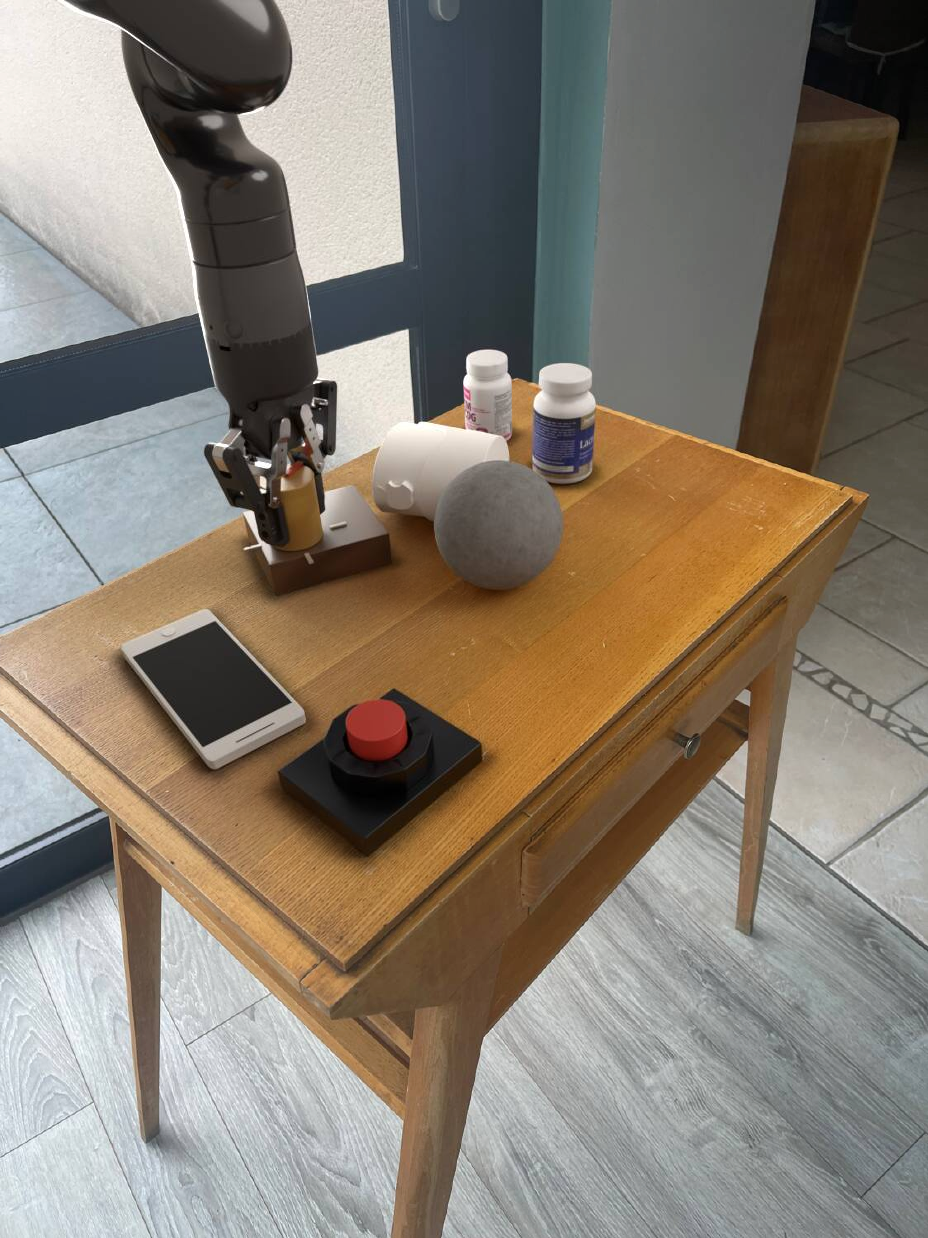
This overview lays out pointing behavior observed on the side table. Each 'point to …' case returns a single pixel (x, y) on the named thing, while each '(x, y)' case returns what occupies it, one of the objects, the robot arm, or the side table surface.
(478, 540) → the decorative ball
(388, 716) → the button
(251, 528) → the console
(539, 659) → the side table surface
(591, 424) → the pill bottle
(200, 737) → the smartphone
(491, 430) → the pill bottle
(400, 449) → the mug
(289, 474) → the knob
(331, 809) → the button box
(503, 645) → the side table surface
